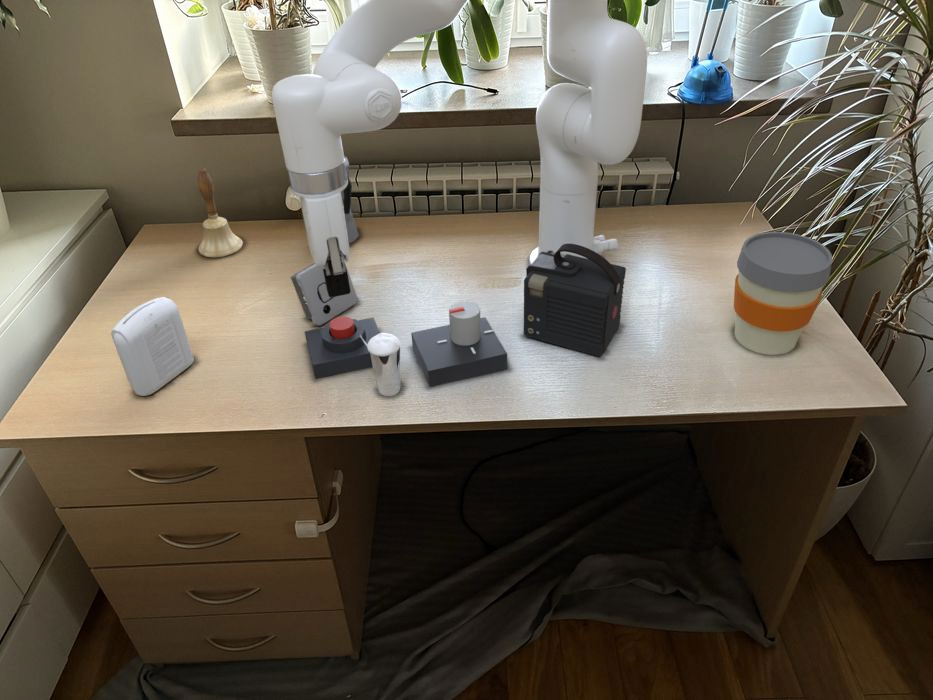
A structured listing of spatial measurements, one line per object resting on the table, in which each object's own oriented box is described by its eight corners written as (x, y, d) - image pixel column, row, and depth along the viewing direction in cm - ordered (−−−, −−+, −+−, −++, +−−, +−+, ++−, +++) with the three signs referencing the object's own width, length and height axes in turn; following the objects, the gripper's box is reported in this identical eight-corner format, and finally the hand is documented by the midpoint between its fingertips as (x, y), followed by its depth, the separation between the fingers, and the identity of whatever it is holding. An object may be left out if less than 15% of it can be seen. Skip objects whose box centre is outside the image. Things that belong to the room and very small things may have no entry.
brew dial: (475, 325, 115) (474, 296, 112) (485, 342, 111) (484, 312, 108) (446, 331, 114) (444, 302, 111) (455, 348, 110) (454, 319, 107)
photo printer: (179, 353, 117) (157, 286, 109) (199, 361, 115) (178, 293, 108) (127, 392, 110) (99, 323, 102) (148, 400, 108) (121, 331, 100)
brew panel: (485, 331, 119) (484, 314, 117) (507, 369, 111) (507, 352, 109) (411, 346, 116) (410, 330, 114) (429, 387, 108) (427, 370, 106)
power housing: (375, 330, 120) (372, 307, 117) (387, 363, 113) (384, 339, 110) (307, 344, 117) (302, 321, 115) (315, 379, 111) (310, 355, 108)
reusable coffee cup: (808, 369, 108) (835, 281, 99) (718, 353, 112) (737, 267, 103) (808, 321, 118) (833, 237, 109) (726, 308, 121) (743, 226, 112)
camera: (544, 302, 125) (547, 221, 116) (624, 322, 119) (634, 239, 110) (517, 337, 117) (517, 253, 108) (602, 360, 112) (610, 274, 103)
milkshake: (368, 380, 110) (360, 325, 104) (404, 378, 110) (398, 322, 104) (367, 401, 106) (359, 345, 100) (405, 398, 106) (399, 342, 100)
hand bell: (235, 232, 148) (216, 156, 138) (248, 249, 142) (229, 171, 133) (193, 244, 145) (171, 167, 135) (205, 262, 139) (183, 182, 129)
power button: (352, 323, 114) (351, 314, 113) (357, 336, 112) (355, 327, 111) (329, 328, 114) (327, 318, 113) (333, 341, 111) (331, 332, 110)
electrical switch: (318, 329, 121) (305, 278, 116) (297, 320, 124) (284, 271, 119) (359, 303, 127) (348, 253, 121) (338, 295, 129) (327, 247, 124)
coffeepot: (298, 232, 147) (281, 144, 136) (340, 217, 152) (327, 131, 141) (336, 262, 137) (322, 170, 126) (380, 246, 142) (369, 156, 131)
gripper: (282, 158, 102) (306, 272, 114) (296, 205, 91) (321, 326, 102) (336, 149, 104) (354, 262, 115) (356, 194, 92) (374, 315, 104)
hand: (339, 292), depth 109 cm, fingers closed
